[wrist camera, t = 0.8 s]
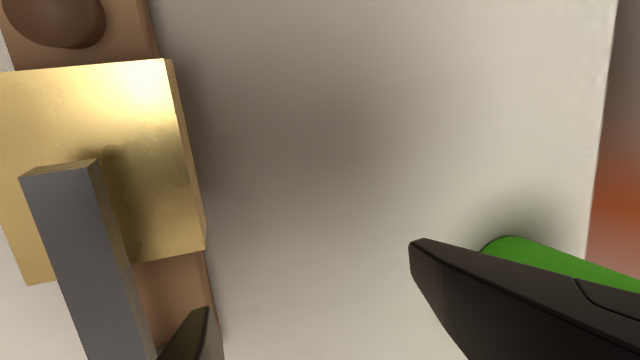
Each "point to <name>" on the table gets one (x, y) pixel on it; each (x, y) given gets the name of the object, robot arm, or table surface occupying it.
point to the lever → (89, 259)
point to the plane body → (98, 48)
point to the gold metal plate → (102, 154)
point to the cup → (558, 262)
